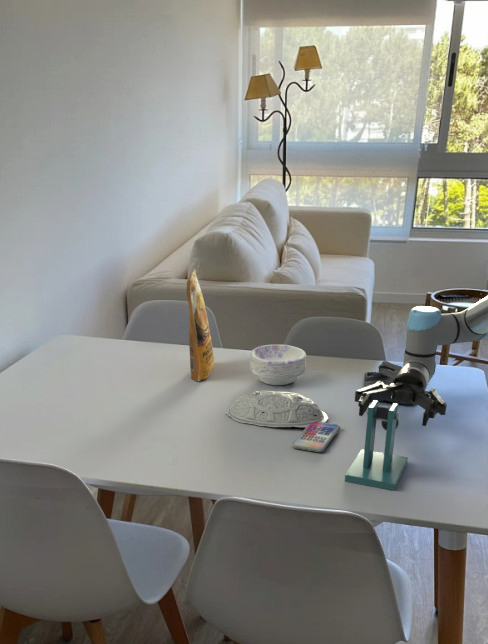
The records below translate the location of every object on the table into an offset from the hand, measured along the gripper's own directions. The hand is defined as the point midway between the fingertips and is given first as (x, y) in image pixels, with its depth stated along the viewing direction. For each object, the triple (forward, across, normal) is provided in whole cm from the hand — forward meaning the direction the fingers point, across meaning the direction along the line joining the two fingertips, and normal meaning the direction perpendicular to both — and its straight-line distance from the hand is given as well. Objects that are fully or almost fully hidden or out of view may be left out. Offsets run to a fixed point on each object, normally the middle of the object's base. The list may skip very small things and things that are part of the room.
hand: (392, 415), depth 151 cm
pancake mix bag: (-30, +60, -9) cm, 68 cm away
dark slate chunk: (-37, +8, -9) cm, 39 cm away
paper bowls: (-33, +38, -9) cm, 51 cm away
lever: (+7, 0, 0) cm, 7 cm away
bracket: (+11, 0, -8) cm, 14 cm away
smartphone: (0, +16, -9) cm, 18 cm away
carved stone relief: (-9, +29, -9) cm, 32 cm away
